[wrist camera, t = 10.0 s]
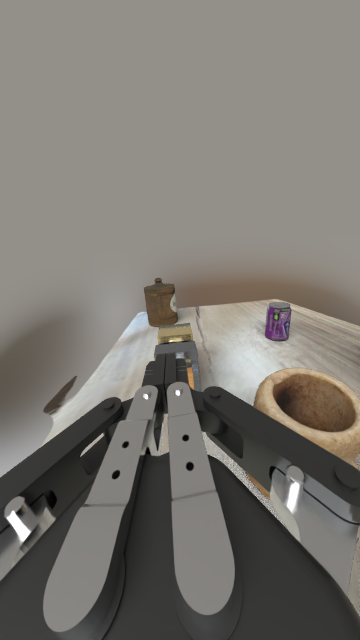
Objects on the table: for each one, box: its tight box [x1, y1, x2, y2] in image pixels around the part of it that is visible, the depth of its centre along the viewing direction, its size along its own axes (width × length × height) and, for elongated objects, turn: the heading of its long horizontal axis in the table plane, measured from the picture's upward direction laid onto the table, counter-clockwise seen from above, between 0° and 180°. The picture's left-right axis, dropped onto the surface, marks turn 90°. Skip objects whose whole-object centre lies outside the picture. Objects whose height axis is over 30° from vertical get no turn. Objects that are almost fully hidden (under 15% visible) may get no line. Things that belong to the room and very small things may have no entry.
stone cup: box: [246, 368, 360, 499], centre depth 22 cm, size 15×12×15 cm
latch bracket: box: [154, 323, 201, 392], centre depth 41 cm, size 16×8×13 cm, turn 2°
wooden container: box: [144, 278, 178, 327], centre depth 86 cm, size 15×15×22 cm
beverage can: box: [265, 302, 291, 341], centre depth 59 cm, size 7×7×12 cm
